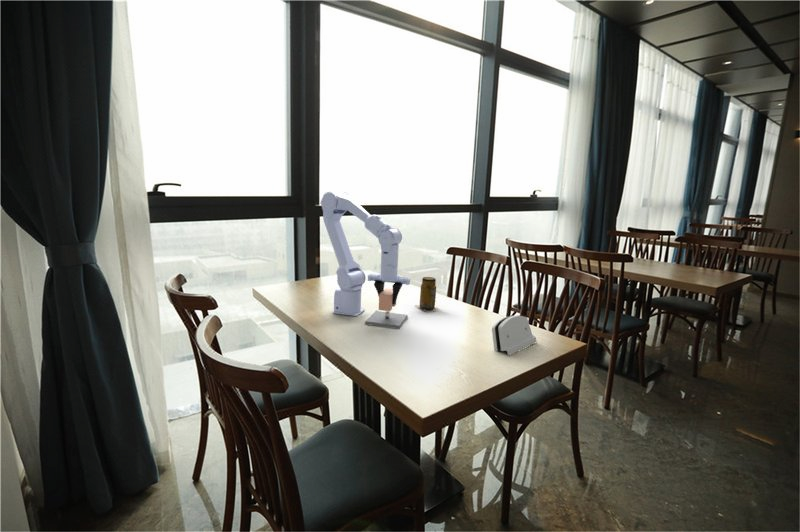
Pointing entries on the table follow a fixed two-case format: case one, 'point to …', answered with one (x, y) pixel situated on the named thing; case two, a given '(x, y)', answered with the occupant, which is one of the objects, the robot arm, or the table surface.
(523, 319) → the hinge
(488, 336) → the table surface
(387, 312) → the steel stub
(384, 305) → the block
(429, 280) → the condiment
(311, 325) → the table surface
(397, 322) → the plate
